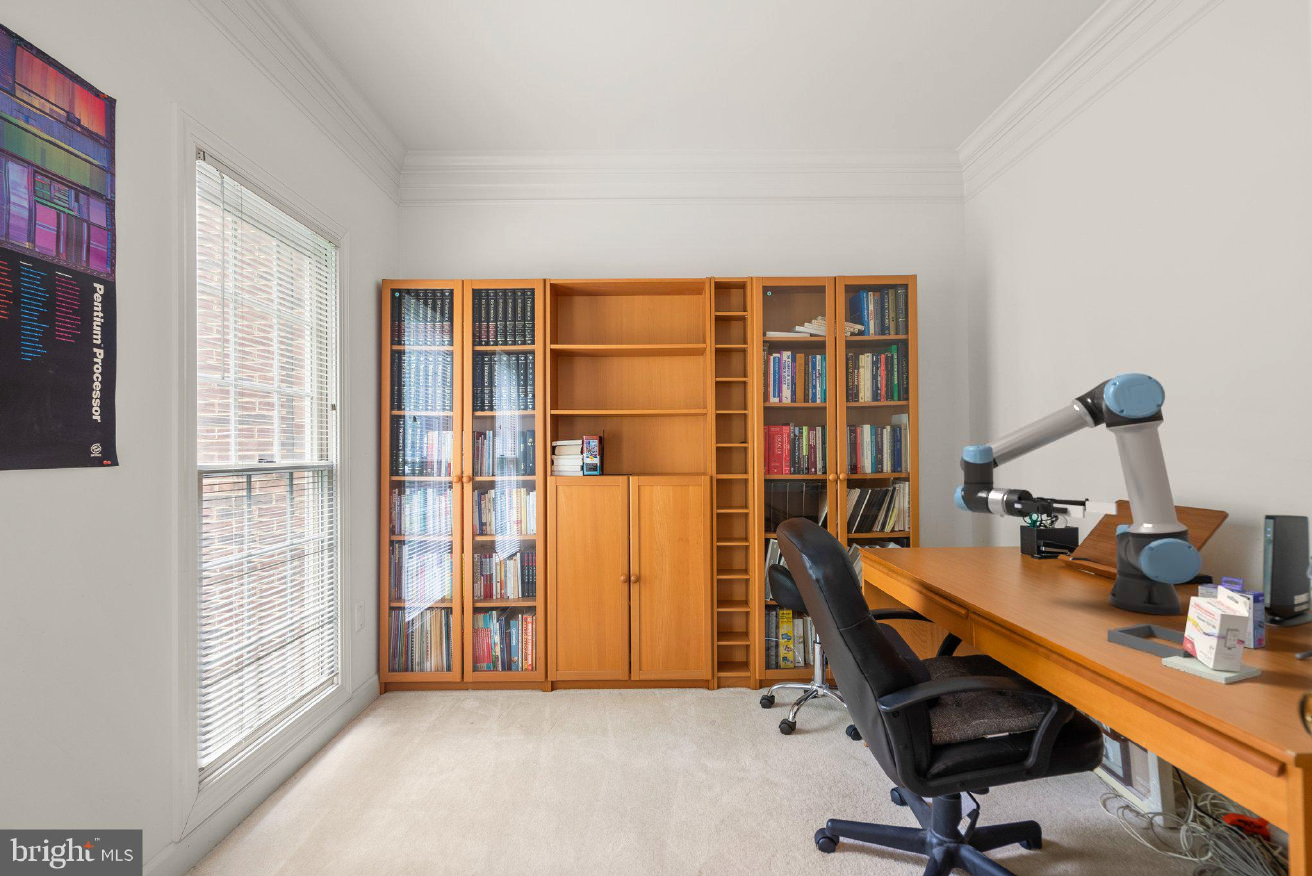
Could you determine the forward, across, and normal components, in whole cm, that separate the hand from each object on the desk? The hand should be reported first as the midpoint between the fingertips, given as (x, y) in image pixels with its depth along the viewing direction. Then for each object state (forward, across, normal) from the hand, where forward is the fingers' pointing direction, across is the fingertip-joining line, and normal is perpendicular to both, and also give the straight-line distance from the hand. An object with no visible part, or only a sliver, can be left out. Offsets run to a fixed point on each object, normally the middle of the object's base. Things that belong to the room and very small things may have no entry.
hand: (1100, 510), depth 133 cm
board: (+20, +3, -30) cm, 36 cm away
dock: (+10, -4, -30) cm, 32 cm away
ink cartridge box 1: (+15, -22, -30) cm, 41 cm away
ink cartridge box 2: (+20, +3, -28) cm, 35 cm away
